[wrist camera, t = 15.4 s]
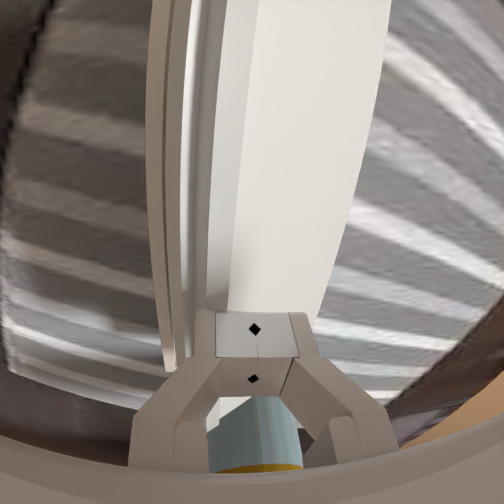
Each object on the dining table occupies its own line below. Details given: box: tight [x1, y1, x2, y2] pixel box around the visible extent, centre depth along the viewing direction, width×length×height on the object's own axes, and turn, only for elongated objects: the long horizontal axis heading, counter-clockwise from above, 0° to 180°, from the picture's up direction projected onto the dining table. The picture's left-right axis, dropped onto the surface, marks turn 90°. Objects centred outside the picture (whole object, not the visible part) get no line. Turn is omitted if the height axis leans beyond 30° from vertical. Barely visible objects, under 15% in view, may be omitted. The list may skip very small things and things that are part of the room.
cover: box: [165, 0, 391, 432], centre depth 11 cm, size 20×8×1 cm, turn 174°
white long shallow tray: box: [145, 0, 177, 372], centre depth 15 cm, size 25×9×4 cm, turn 174°
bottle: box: [207, 397, 304, 474], centre depth 21 cm, size 7×7×15 cm
